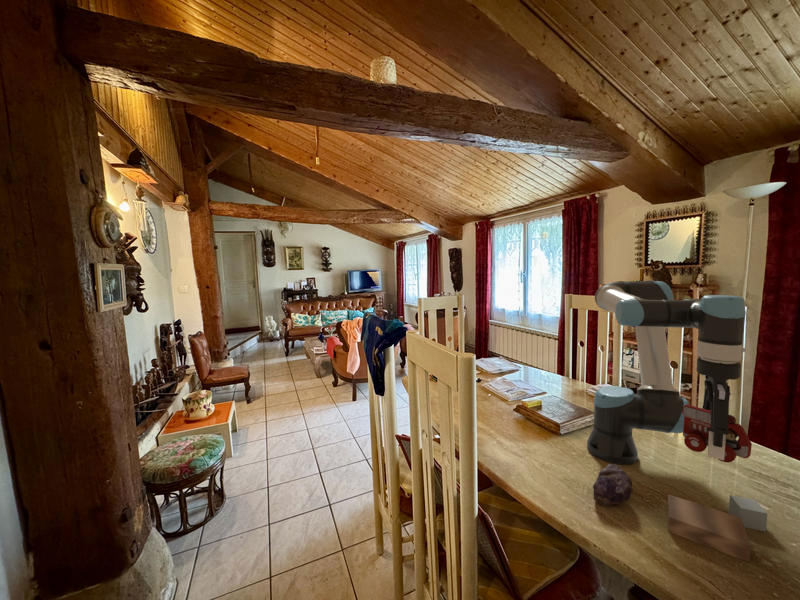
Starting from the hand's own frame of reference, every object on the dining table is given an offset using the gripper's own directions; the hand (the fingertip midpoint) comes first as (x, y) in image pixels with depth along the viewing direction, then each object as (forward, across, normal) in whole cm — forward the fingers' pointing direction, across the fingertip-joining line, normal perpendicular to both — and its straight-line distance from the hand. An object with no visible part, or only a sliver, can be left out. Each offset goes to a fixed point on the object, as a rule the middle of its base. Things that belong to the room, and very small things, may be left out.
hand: (712, 448), depth 79 cm
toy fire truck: (+1, 0, 0) cm, 1 cm away
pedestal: (+22, -1, +1) cm, 22 cm away
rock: (+22, -1, +20) cm, 30 cm away
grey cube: (+22, +10, -8) cm, 25 cm away
